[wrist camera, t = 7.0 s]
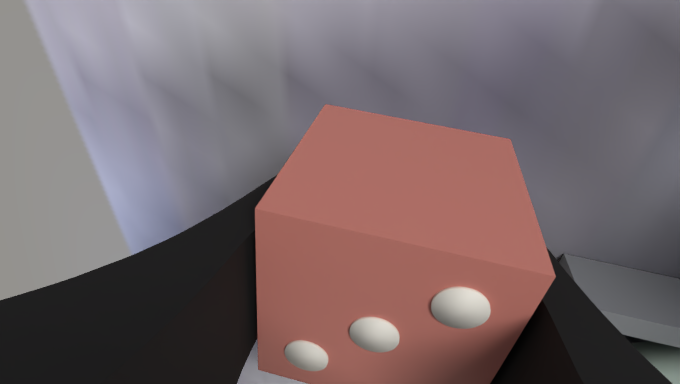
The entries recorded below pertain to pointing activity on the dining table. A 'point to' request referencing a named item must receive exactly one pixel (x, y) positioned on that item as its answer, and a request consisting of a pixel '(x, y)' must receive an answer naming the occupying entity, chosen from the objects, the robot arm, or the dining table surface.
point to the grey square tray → (630, 298)
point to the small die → (395, 254)
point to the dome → (662, 358)
